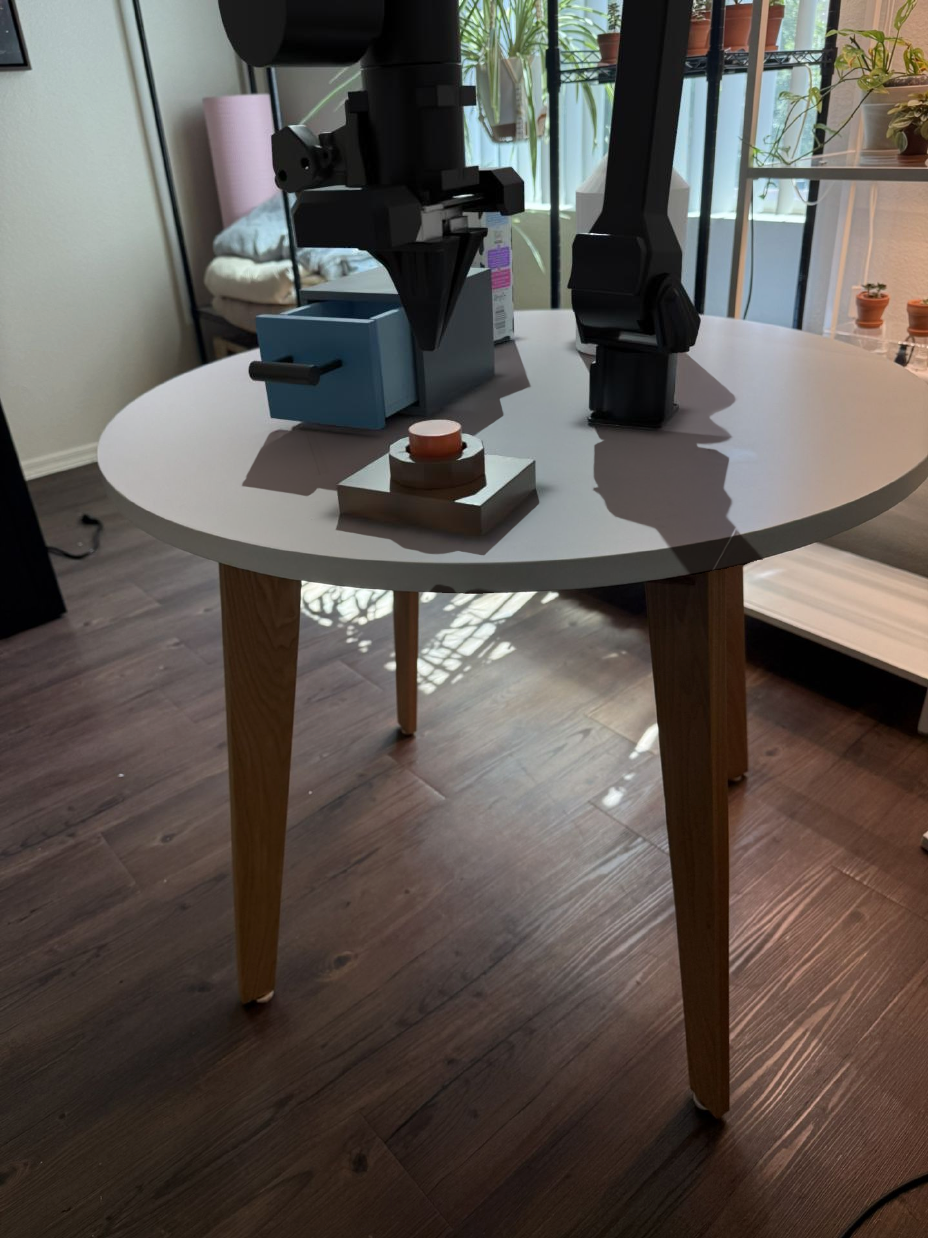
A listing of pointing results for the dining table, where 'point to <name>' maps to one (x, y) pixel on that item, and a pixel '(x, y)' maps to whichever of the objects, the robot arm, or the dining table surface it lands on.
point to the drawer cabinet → (463, 346)
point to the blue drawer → (337, 363)
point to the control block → (439, 488)
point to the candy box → (497, 268)
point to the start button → (435, 438)
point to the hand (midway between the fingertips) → (429, 349)
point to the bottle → (592, 203)
